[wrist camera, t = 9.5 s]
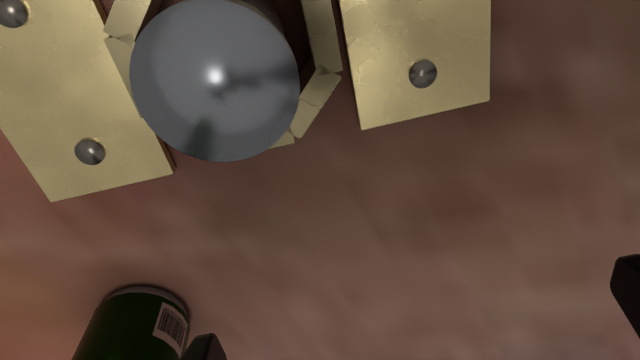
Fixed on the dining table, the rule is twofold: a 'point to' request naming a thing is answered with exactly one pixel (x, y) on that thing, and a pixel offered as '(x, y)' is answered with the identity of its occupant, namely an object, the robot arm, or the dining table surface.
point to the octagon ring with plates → (148, 148)
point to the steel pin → (216, 78)
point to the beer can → (136, 327)
